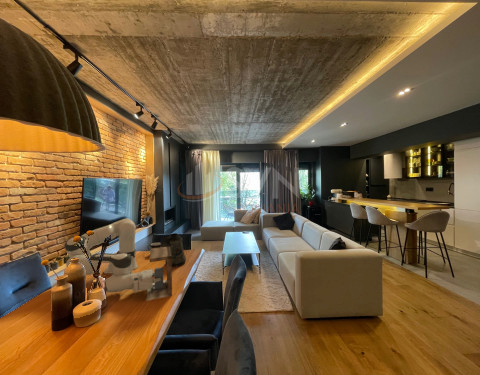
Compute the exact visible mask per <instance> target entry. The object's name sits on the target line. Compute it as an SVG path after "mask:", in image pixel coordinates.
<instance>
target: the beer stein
mask: <svg viewBox="0 0 480 375" xmlns="http://www.w3.org/2000/svg"><path fill="white" fill-rule="evenodd" d="M166 245H167V247H169V246H170V250H171V255H172V268H173V267H175V268H176V267H180V266H184V265H185V264H186V260H187V257H186V255H185V252H184V246H183V237H182V236H181V235H179V234H178V233H177V232H176V233H175V232H174V233H171V234H170V236H168V237H165V239H164V241H163V242H162V243H161V247H166ZM164 261H165V265H166V266H167V260H164Z"/></svg>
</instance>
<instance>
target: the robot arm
mask: <svg viewBox="0 0 480 375" xmlns="http://www.w3.org/2000/svg"><path fill="white" fill-rule="evenodd" d="M136 228H137V226H136V223H135V222H134V221H133V220H132V219H131V218H123V219H120V220H118V221H115V222H112V223H111V224H108V225H105V226H102V227H98V228H95V229H93V230H92V231H93V232H94V234H93V235H90V236H88V235H87V234H86V233H84V234H82V235H80V237H81V243H82V244H83V245H84V247H85V248H86V251H87V254H88V256H89V259H90V261H91V263H92V265H93V267H94V269H95V270H96V269H97V264H98V261H99V258H100V255H101V253H102V252H101V253H100V252H99V253H98V252H97V253H95V254H92V253H91V250H90V248H91V247H93V246H97V245H101V244H102V243H105V242H104V240H105V238H107V237H109V236H110V235H111V240H114V239H115V238H117V237H118V239H119V240H118V250H117V252H115V253H107V252H106V253H104V256H103V259H102V262H101V265H100V267H101V266H102V264H107V267H106V268H105V269H104V272H103V273H104V274H112V275H111V276H109V277H107V278H105V280H104V290H105V292H106V293H111V294H112V293H119V292H123V291H125V290H129V291H131V290H132V291H133V293H138V292H139V291H141V292H142V291H147V289H150V288H152V283H156V282H158V281H161V277H158V278H156V279H155V274H154V270H153V269H151V268H150V269H146V270H141V271H140V272H132V271H133V270H136V269H137V268H138V264H137V259H136V256H137V252H136V251H137V250H136ZM74 237H75V236H73V237H70V238H69V239H67V241H65V243H64V250H65V251H66V253H67V256H68V258H69V259H68V260H66V268H67V267H68V265H69V264H70V260H71V259H73V258H79V262H80V263H82V264H83V265H84V267H85V269H86V275H85V276H90V275H93V274H94V273H93V269H92V267H91V265H90V263H89V261H88V259H87V258H86V256H85V254H84V253H83V252H82V250H81V249H80V248H79V247H78V246H74V245H73V244H77V243H76V242H73V238H74ZM88 238H89V240H88ZM87 241H88V243H87Z"/></svg>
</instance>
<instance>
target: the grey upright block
mask: <svg viewBox="0 0 480 375" xmlns="http://www.w3.org/2000/svg"><path fill="white" fill-rule="evenodd" d="M153 273H154V274H155V276H154V279H156V278H158V277H161V281H158V282H156V283H155V290H160V289H164V286H163V281H164V267H156V268H154V270H153Z"/></svg>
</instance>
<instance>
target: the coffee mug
mask: <svg viewBox="0 0 480 375" xmlns="http://www.w3.org/2000/svg"><path fill="white" fill-rule="evenodd" d="M161 246H162V243H161V242H153V243H151V244H149V245H148V247H147V249H148V250H149V251H150V250H151V248H160V247H161ZM149 247H150V248H149Z"/></svg>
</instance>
